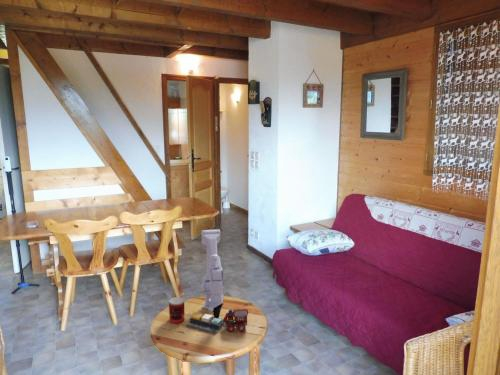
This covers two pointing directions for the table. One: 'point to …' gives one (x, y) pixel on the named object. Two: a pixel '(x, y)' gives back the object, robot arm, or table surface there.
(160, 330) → the table surface
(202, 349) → the table surface
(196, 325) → the button panel
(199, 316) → the amber button
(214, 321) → the teal button
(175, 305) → the canned food
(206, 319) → the cream button
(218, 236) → the robot arm
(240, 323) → the toy fire truck
